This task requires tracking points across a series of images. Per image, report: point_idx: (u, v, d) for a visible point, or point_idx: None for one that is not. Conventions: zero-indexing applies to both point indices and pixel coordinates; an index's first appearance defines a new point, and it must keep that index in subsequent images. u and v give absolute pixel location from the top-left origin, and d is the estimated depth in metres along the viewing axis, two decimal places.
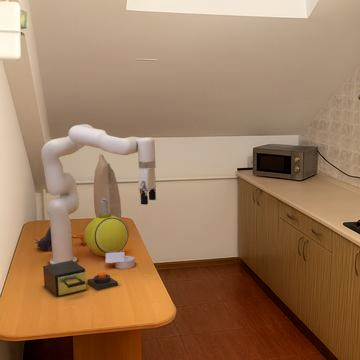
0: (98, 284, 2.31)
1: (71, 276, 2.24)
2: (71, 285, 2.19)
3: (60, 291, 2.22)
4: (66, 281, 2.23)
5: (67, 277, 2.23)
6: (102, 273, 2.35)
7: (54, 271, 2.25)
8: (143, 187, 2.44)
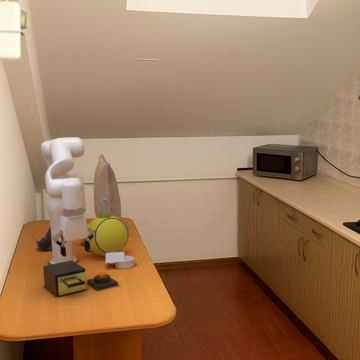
0: (98, 284, 2.31)
1: (71, 276, 2.24)
2: (71, 285, 2.19)
3: (60, 291, 2.22)
4: (66, 281, 2.23)
5: (67, 277, 2.23)
6: (102, 273, 2.35)
7: (54, 271, 2.25)
8: (58, 237, 2.17)
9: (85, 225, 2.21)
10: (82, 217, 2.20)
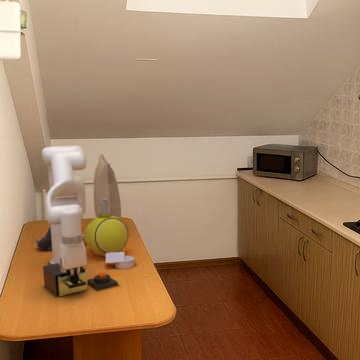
0: (98, 284, 2.31)
1: None
2: (72, 286, 2.18)
3: (61, 292, 2.21)
4: (67, 282, 2.22)
5: (68, 278, 2.22)
6: (102, 273, 2.35)
7: (54, 271, 2.25)
8: None
9: (84, 252, 2.21)
10: (81, 244, 2.19)
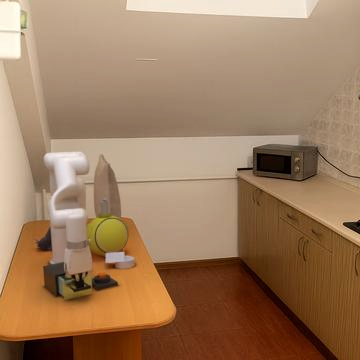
0: (98, 284, 2.31)
1: None
2: (77, 289, 2.14)
3: (65, 295, 2.17)
4: (71, 285, 2.18)
5: (73, 281, 2.18)
6: (102, 273, 2.35)
7: (54, 271, 2.25)
8: None
9: (89, 257, 2.17)
10: (86, 249, 2.15)
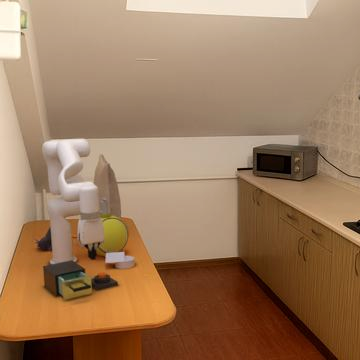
0: (98, 284, 2.31)
1: (76, 280, 2.19)
2: (76, 289, 2.15)
3: (65, 295, 2.17)
4: (71, 285, 2.18)
5: (72, 281, 2.18)
6: (102, 273, 2.35)
7: (54, 271, 2.25)
8: None
9: (102, 228, 2.26)
10: (99, 220, 2.25)
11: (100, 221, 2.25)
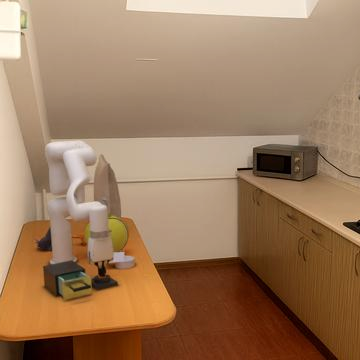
0: (98, 284, 2.31)
1: (76, 280, 2.19)
2: (76, 289, 2.15)
3: (65, 295, 2.17)
4: (71, 285, 2.18)
5: (72, 281, 2.18)
6: None
7: (54, 271, 2.25)
8: None
9: (111, 246, 2.34)
10: (108, 239, 2.32)
11: (109, 239, 2.33)
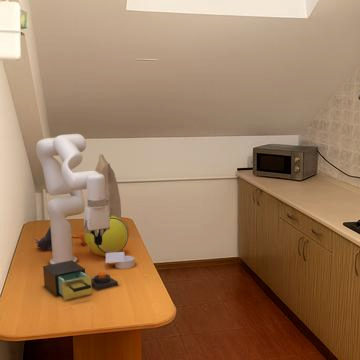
0: (98, 284, 2.31)
1: (76, 280, 2.19)
2: (76, 289, 2.15)
3: (65, 295, 2.17)
4: (71, 285, 2.18)
5: (72, 281, 2.18)
6: (102, 273, 2.35)
7: (54, 271, 2.25)
8: None
9: (108, 215, 2.35)
10: (105, 208, 2.34)
11: (106, 208, 2.34)
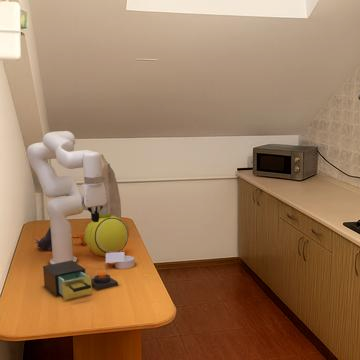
0: (98, 284, 2.31)
1: (76, 280, 2.19)
2: (76, 289, 2.15)
3: (65, 295, 2.17)
4: (71, 285, 2.18)
5: (72, 281, 2.18)
6: (102, 273, 2.35)
7: (54, 271, 2.25)
8: None
9: (104, 192, 2.41)
10: (101, 185, 2.39)
11: (102, 186, 2.40)
